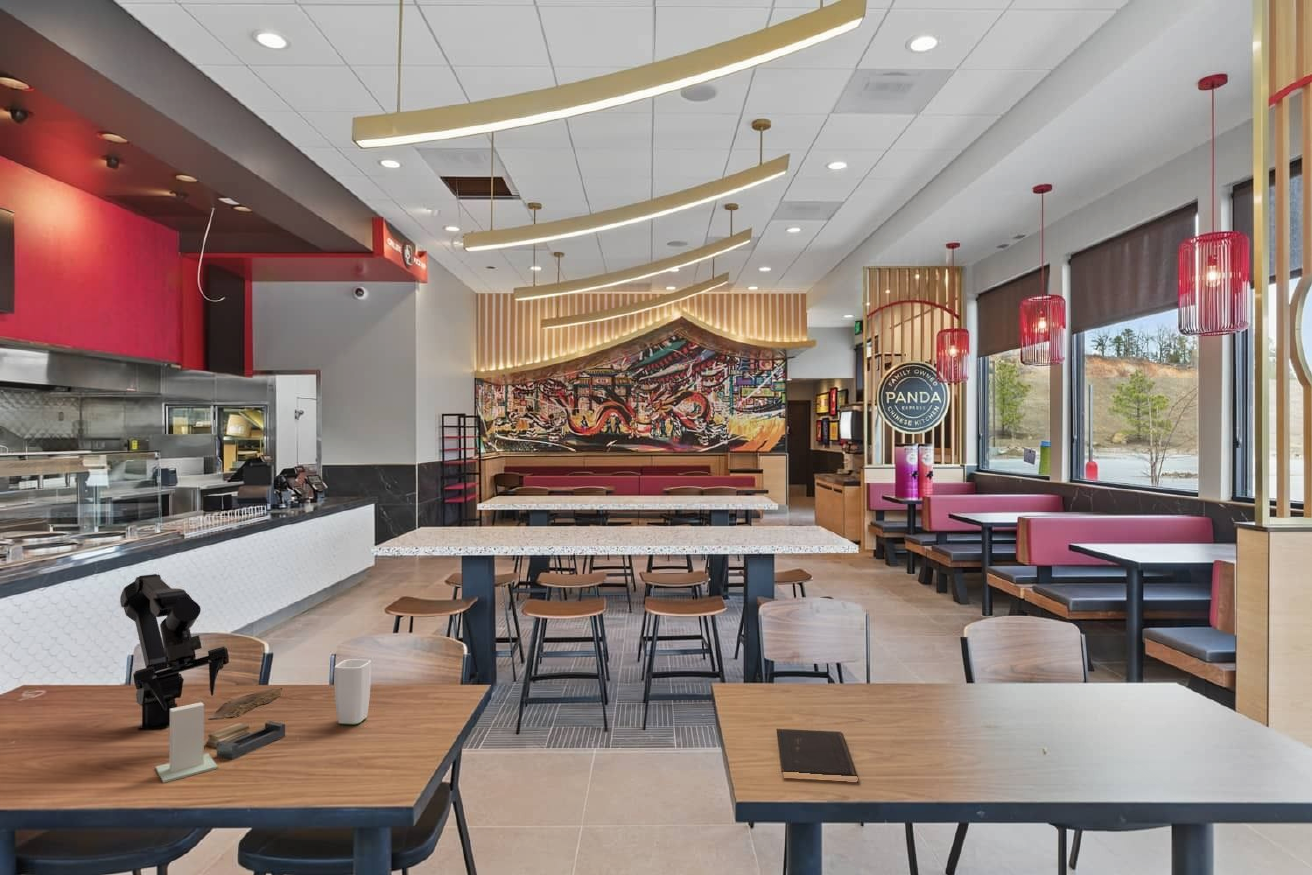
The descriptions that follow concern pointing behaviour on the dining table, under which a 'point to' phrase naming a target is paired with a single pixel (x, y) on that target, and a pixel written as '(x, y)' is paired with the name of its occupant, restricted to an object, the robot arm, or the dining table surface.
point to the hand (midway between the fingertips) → (189, 702)
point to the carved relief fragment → (245, 704)
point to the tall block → (186, 736)
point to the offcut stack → (227, 734)
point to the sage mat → (185, 770)
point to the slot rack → (251, 741)
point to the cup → (352, 690)
